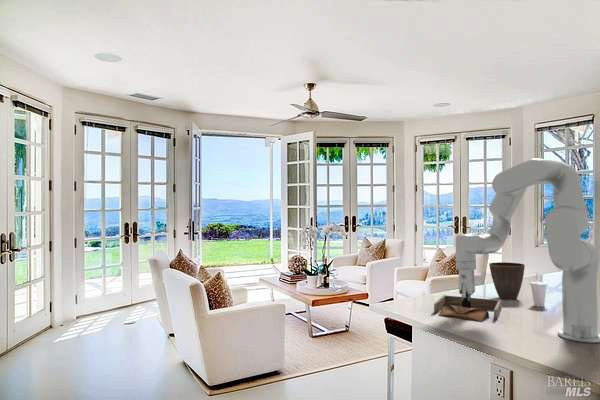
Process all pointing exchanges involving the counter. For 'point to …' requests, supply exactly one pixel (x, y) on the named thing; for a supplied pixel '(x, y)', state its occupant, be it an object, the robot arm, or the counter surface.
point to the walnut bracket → (475, 303)
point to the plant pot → (507, 279)
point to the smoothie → (538, 292)
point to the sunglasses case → (464, 313)
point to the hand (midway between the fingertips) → (466, 310)
